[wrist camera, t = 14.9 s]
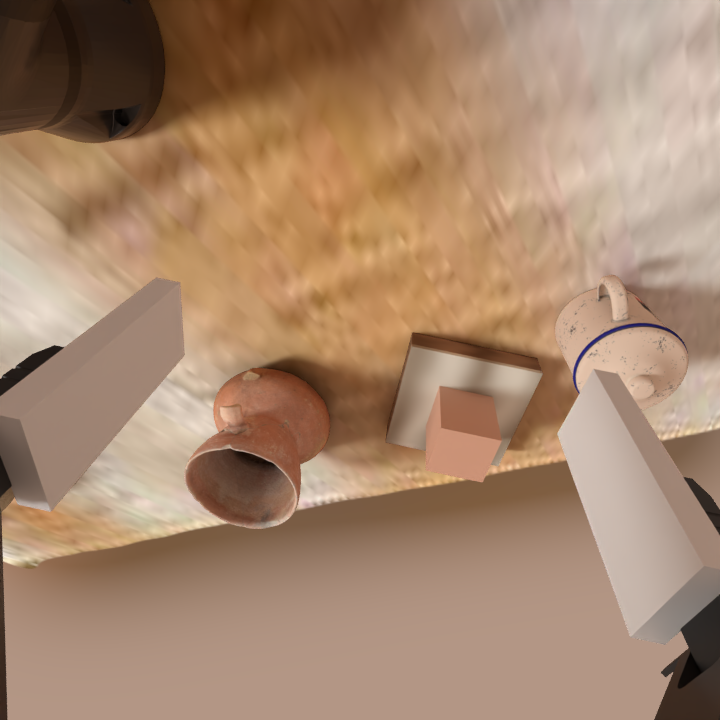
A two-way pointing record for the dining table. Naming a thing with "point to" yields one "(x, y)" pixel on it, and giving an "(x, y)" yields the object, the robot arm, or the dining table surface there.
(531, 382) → the plinth
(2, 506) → the fruit
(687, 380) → the dining table surface
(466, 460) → the block
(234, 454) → the ceramic jug
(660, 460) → the robot arm
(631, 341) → the teacup with lid
